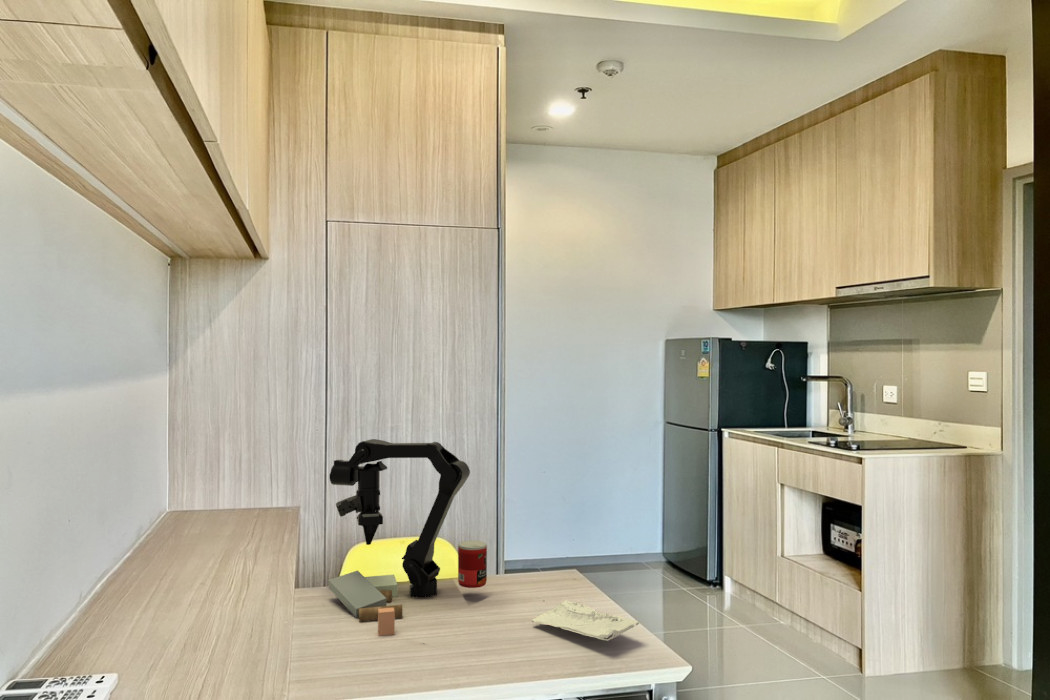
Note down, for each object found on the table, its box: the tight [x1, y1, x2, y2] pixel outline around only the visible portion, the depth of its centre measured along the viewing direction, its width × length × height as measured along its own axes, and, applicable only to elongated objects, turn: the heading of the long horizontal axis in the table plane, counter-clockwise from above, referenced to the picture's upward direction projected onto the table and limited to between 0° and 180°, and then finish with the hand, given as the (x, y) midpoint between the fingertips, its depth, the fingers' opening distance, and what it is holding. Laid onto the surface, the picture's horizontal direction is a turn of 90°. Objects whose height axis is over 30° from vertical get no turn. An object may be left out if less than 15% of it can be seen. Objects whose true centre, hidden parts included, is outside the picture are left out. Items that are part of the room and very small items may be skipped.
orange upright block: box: [377, 607, 396, 637], centre depth 161 cm, size 4×2×5 cm
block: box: [364, 574, 399, 598], centre depth 188 cm, size 11×9×3 cm
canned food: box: [457, 540, 488, 589], centre depth 196 cm, size 8×8×11 cm
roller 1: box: [379, 590, 393, 603], centre depth 181 cm, size 11×3×3 cm
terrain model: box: [531, 599, 640, 641], centre depth 167 cm, size 17×23×5 cm
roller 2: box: [358, 604, 403, 623], centre depth 169 cm, size 10×3×3 cm
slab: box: [328, 570, 387, 619], centre depth 178 cm, size 8×16×2 cm, turn 38°
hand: (368, 544), depth 191 cm, fingers closed
